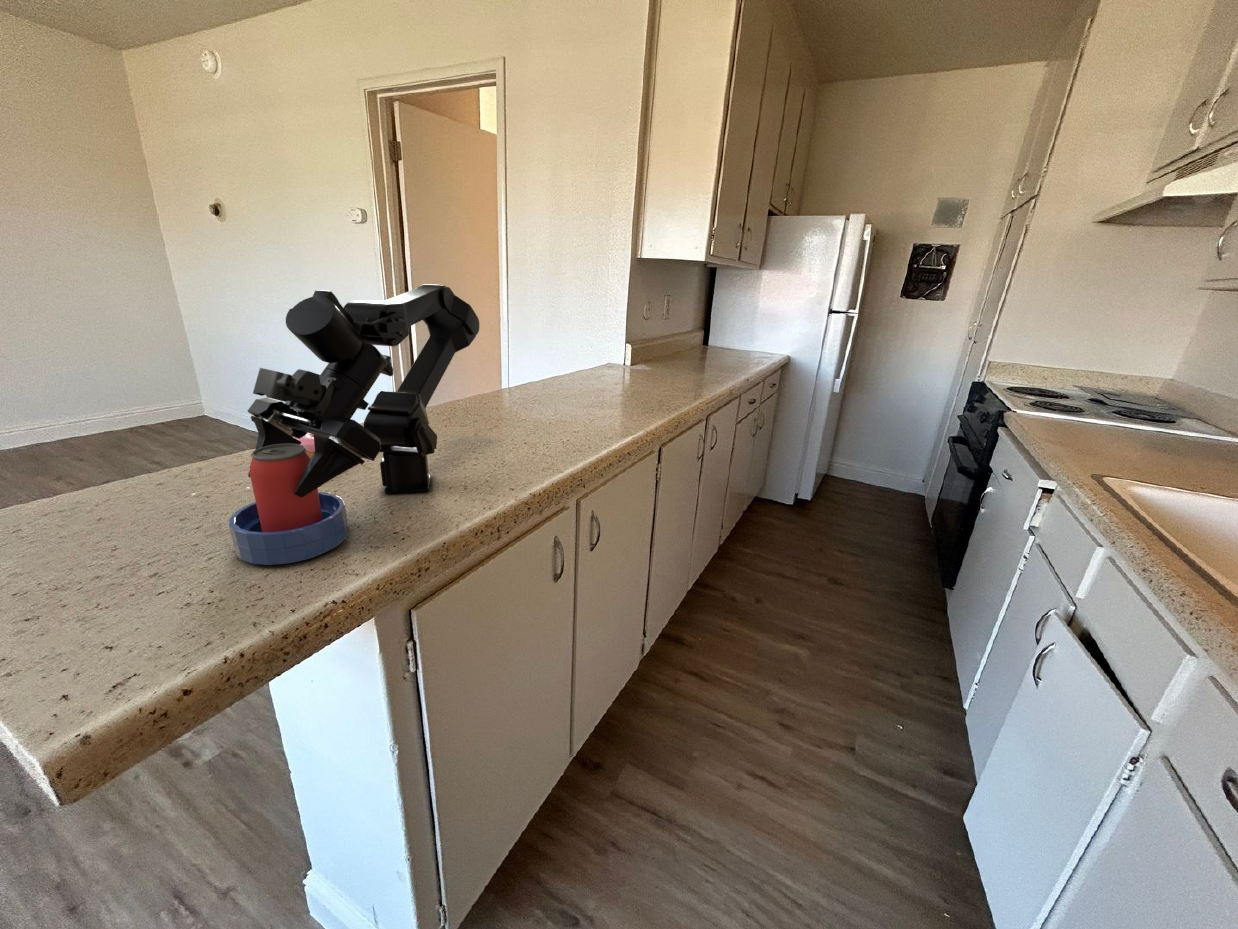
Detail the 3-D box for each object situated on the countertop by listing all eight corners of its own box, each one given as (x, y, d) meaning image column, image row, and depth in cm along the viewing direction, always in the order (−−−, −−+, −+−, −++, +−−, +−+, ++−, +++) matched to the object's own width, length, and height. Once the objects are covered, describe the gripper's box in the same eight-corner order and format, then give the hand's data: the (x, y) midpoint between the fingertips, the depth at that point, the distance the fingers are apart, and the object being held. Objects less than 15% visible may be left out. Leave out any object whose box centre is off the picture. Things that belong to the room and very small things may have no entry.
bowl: (356, 517, 72) (352, 488, 71) (337, 562, 61) (332, 529, 60) (257, 525, 69) (251, 494, 67) (219, 573, 58) (210, 538, 56)
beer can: (282, 526, 68) (265, 441, 64) (334, 527, 68) (320, 442, 64) (253, 551, 62) (232, 459, 58) (310, 552, 62) (293, 460, 58)
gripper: (249, 334, 64) (165, 439, 59) (346, 350, 56) (259, 474, 51) (319, 386, 73) (252, 481, 68) (410, 406, 65) (343, 515, 60)
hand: (274, 487), depth 61 cm, fingers open, 9 cm apart
